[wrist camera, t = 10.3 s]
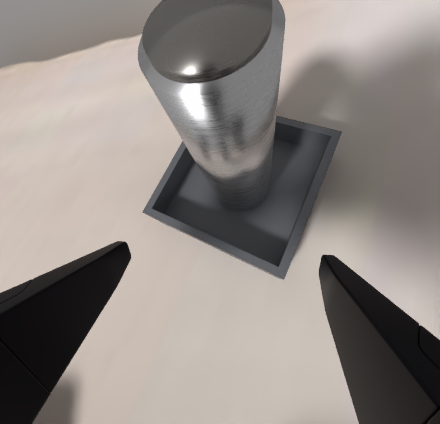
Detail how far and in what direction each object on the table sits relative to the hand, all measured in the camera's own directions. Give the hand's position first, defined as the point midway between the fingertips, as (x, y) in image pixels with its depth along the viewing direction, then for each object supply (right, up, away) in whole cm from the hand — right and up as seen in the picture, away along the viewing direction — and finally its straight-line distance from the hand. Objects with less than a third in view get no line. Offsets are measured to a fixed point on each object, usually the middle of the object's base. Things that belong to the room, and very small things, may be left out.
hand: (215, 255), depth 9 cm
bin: (+2, +4, +10) cm, 11 cm away
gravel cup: (+2, +4, +9) cm, 10 cm away
